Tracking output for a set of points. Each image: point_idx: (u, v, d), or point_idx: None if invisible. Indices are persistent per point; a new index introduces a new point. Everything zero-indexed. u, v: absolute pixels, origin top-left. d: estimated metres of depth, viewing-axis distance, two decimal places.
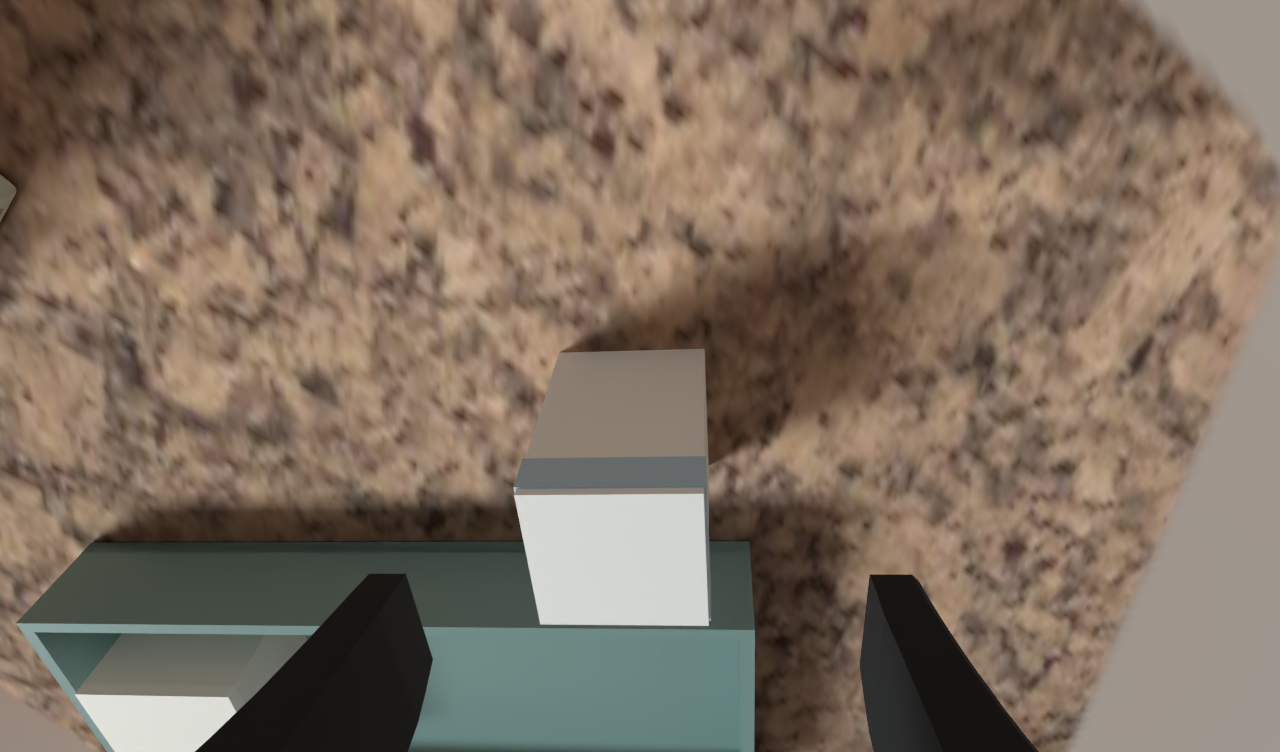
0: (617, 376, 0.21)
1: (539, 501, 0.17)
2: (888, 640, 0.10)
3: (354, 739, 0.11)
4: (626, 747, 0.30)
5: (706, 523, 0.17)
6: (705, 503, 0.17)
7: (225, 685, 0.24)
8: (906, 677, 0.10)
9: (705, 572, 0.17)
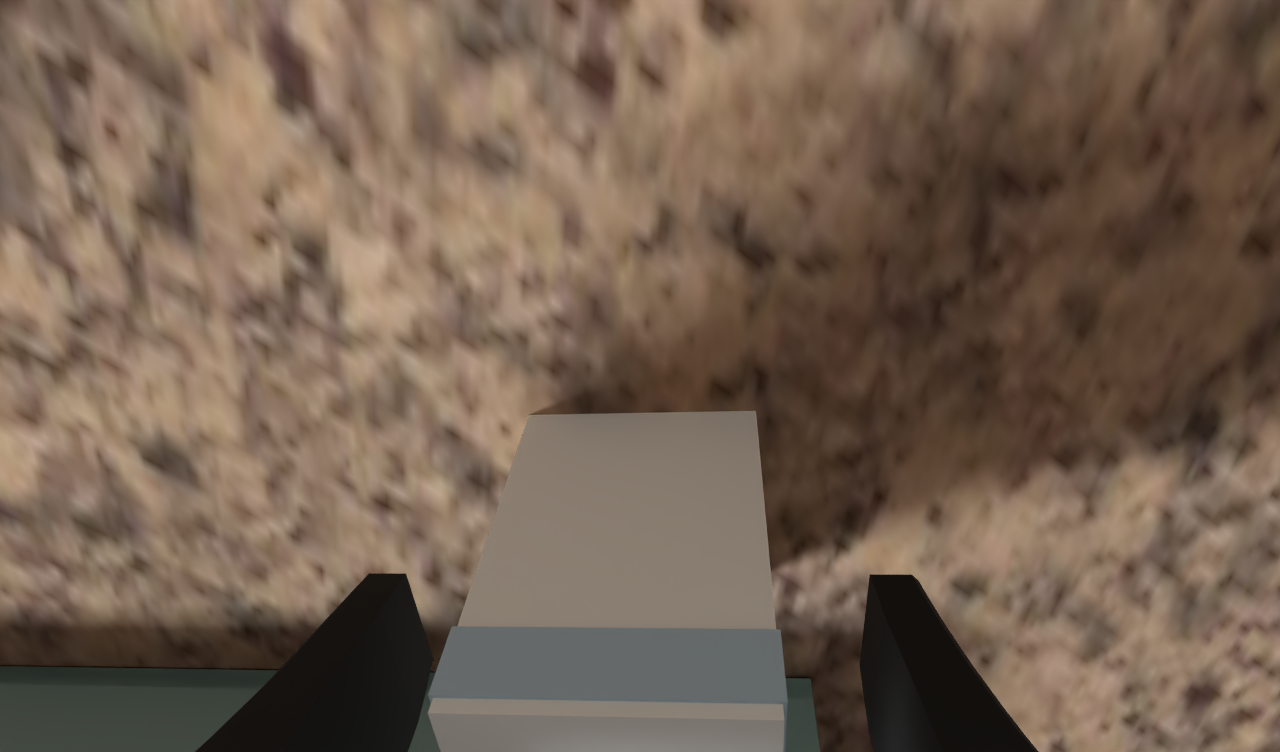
0: (619, 458, 0.13)
1: (475, 723, 0.09)
2: (888, 640, 0.10)
3: (353, 738, 0.11)
4: None
5: None
6: (784, 729, 0.09)
7: None
8: (906, 677, 0.10)
9: None
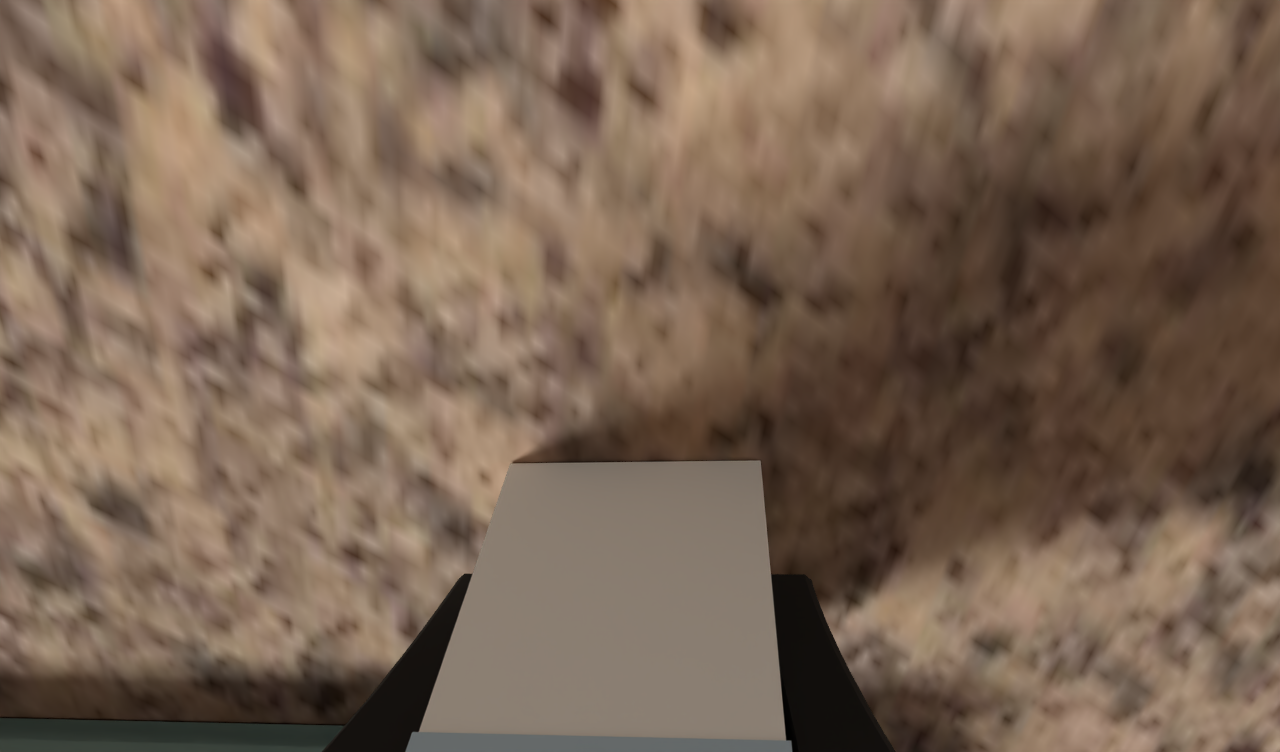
0: (608, 518, 0.11)
1: None
2: None
3: None
4: None
5: None
6: None
7: None
8: (780, 675, 0.10)
9: None
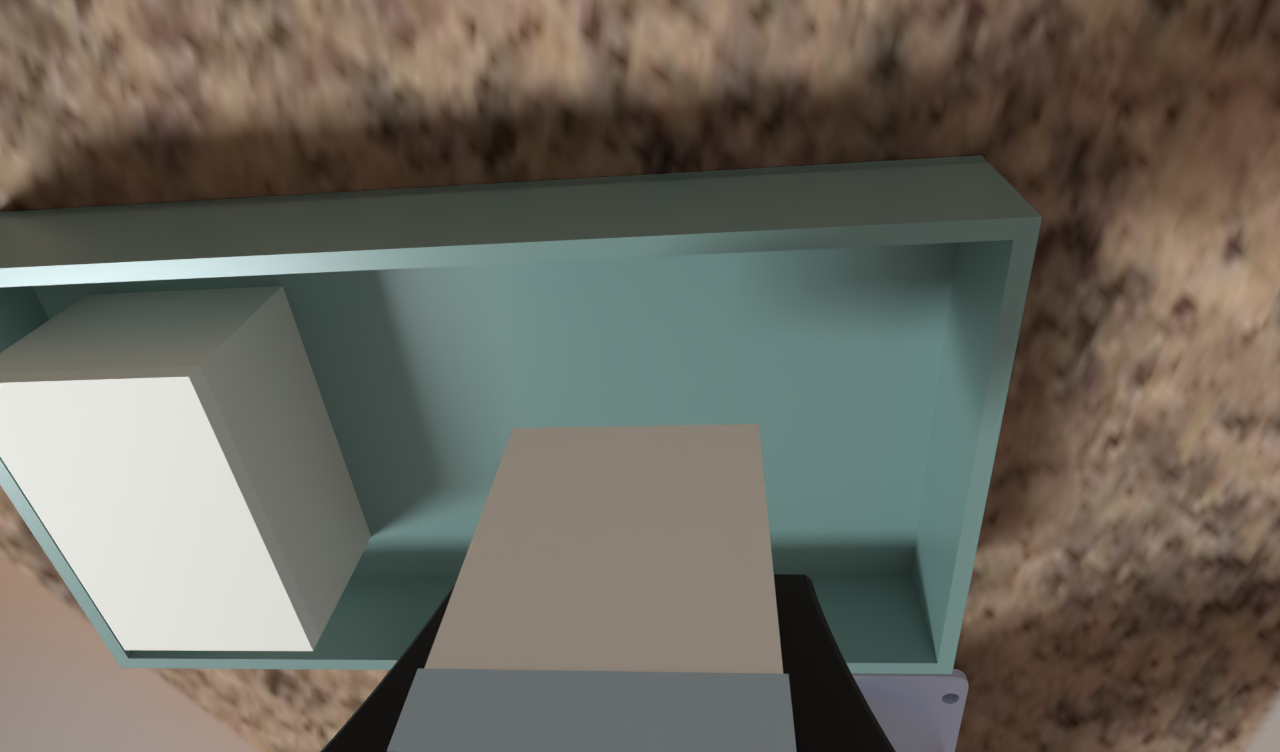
0: (610, 476, 0.12)
1: None
2: None
3: None
4: None
5: None
6: None
7: (184, 365, 0.16)
8: None
9: None
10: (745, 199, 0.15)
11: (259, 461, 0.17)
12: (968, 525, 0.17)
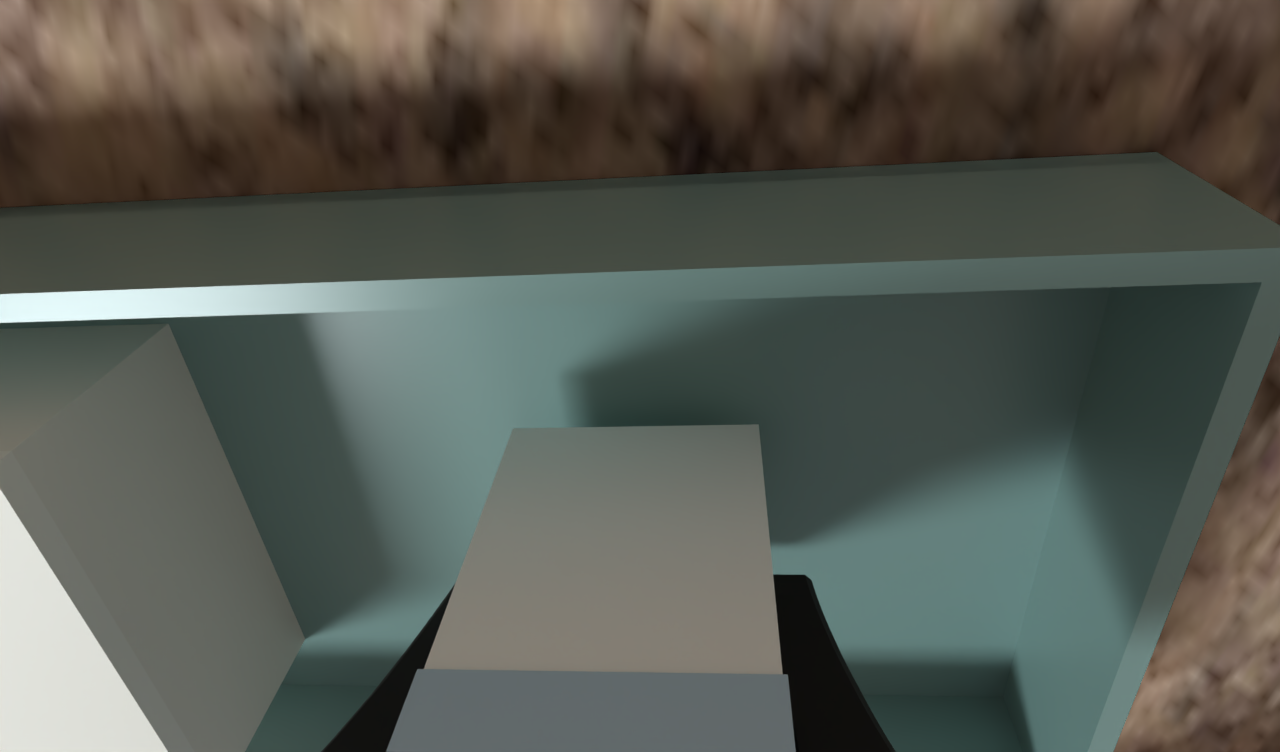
0: (609, 477, 0.12)
1: None
2: None
3: None
4: None
5: None
6: None
7: None
8: None
9: None
10: (823, 213, 0.10)
11: (122, 574, 0.12)
12: (1124, 676, 0.12)
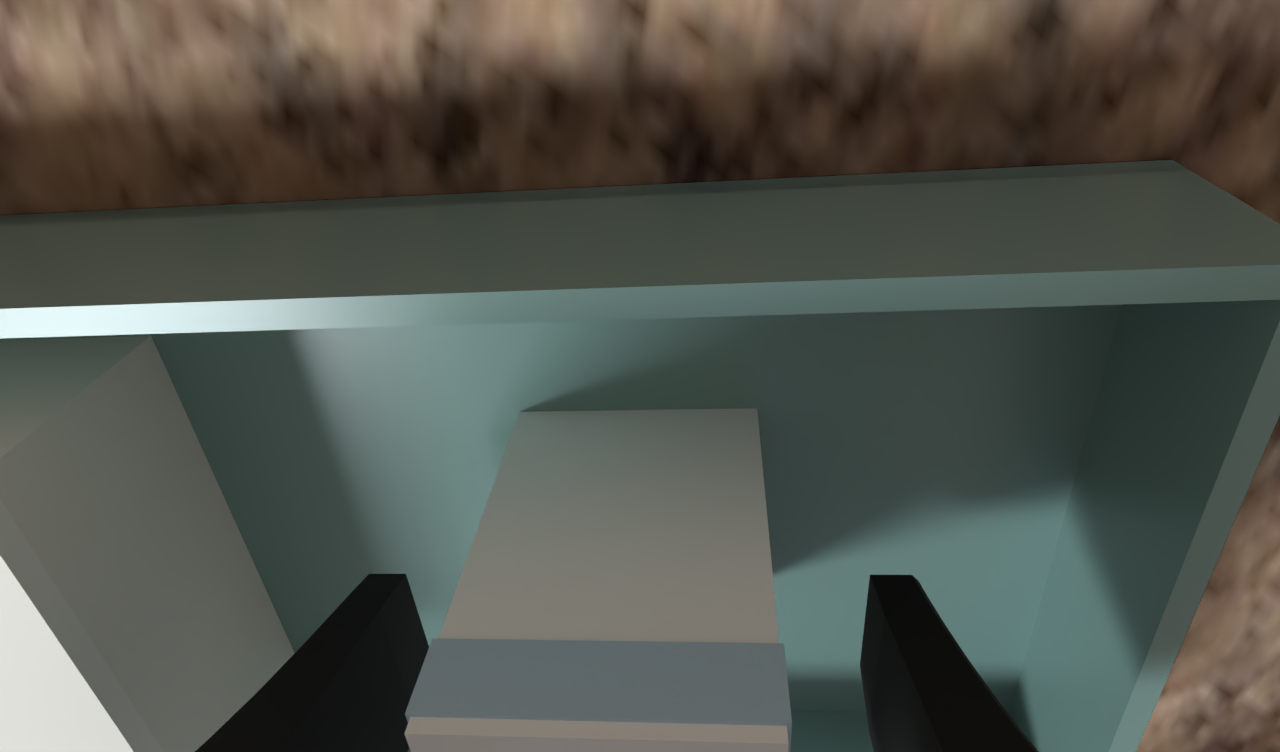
0: (613, 458, 0.12)
1: (456, 744, 0.08)
2: (888, 640, 0.10)
3: (353, 739, 0.11)
4: (805, 668, 0.16)
5: None
6: None
7: None
8: (906, 677, 0.10)
9: None
10: (827, 224, 0.10)
11: (102, 595, 0.12)
12: (1137, 701, 0.12)
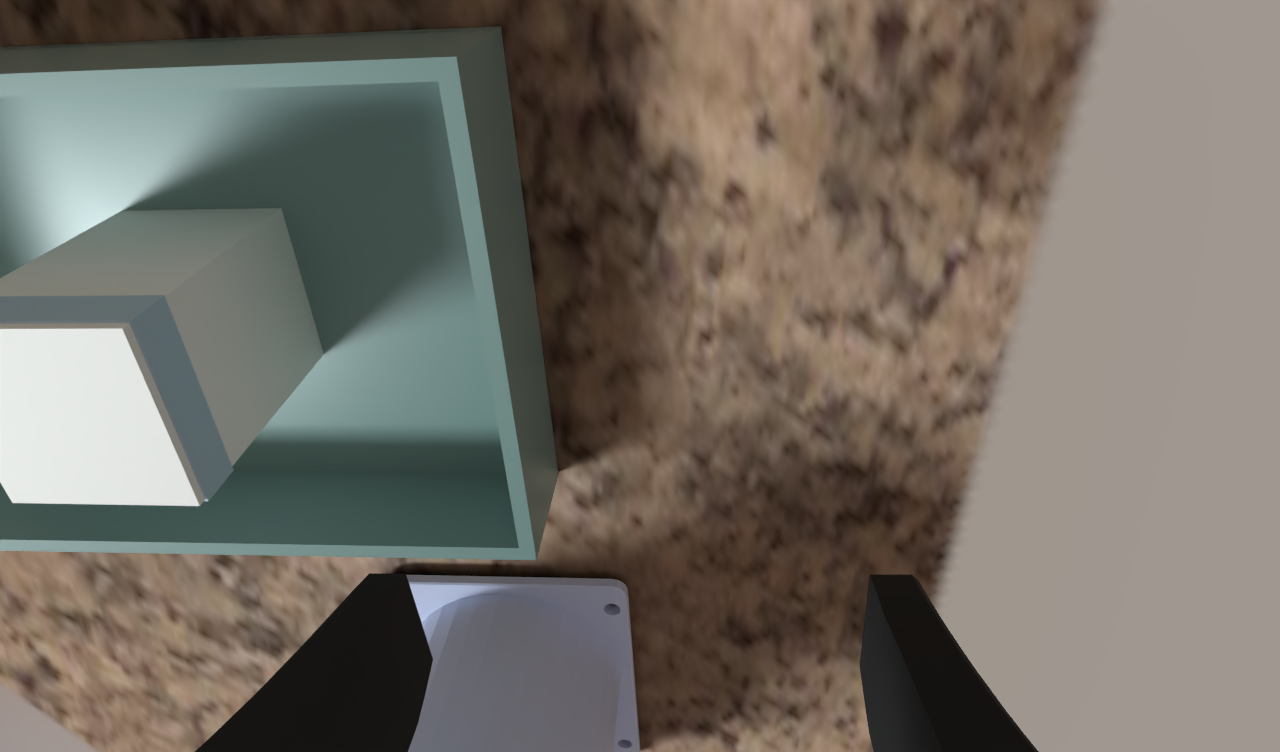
0: (158, 229, 0.18)
1: None
2: (888, 640, 0.10)
3: (354, 738, 0.11)
4: (383, 432, 0.22)
5: (153, 372, 0.14)
6: (139, 344, 0.14)
7: None
8: (906, 677, 0.10)
9: (167, 435, 0.15)
10: (233, 50, 0.16)
11: None
12: (498, 395, 0.17)
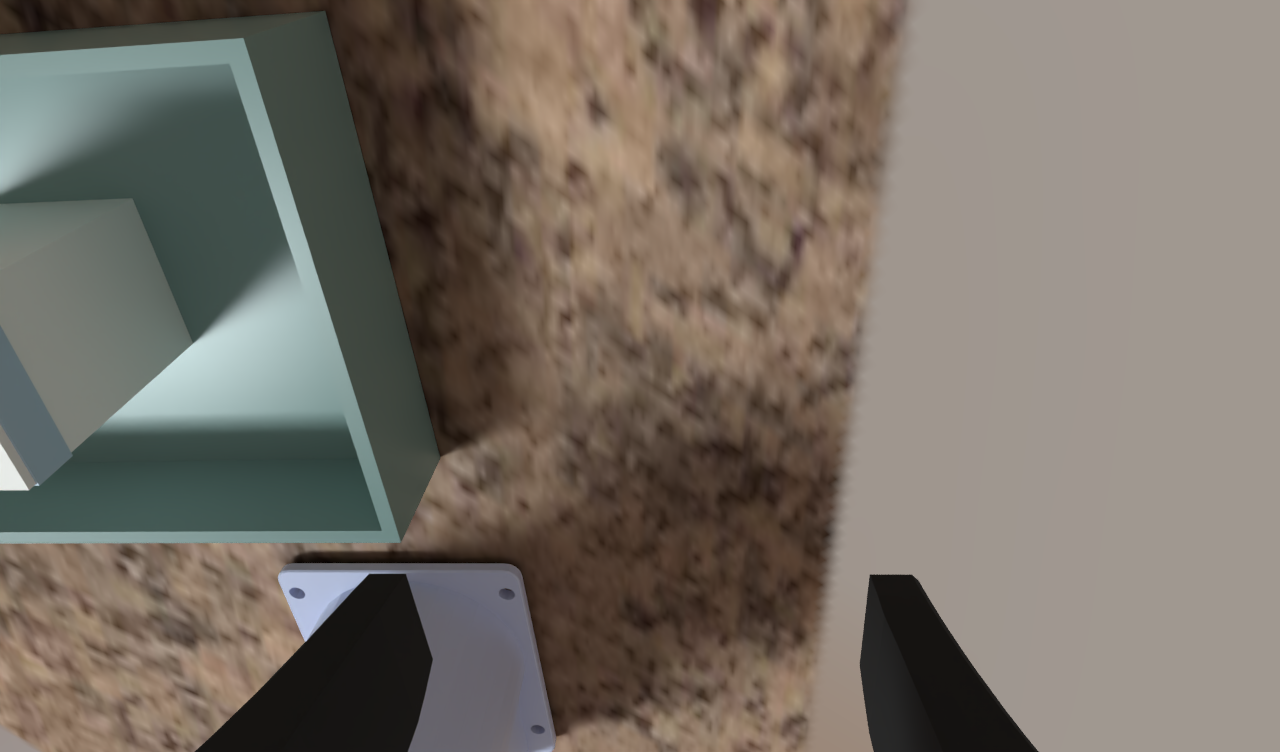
0: (4, 221, 0.18)
1: None
2: (888, 640, 0.10)
3: (353, 738, 0.11)
4: (261, 420, 0.22)
5: None
6: None
7: None
8: (906, 677, 0.10)
9: None
10: (50, 40, 0.16)
11: None
12: (337, 377, 0.18)
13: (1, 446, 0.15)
